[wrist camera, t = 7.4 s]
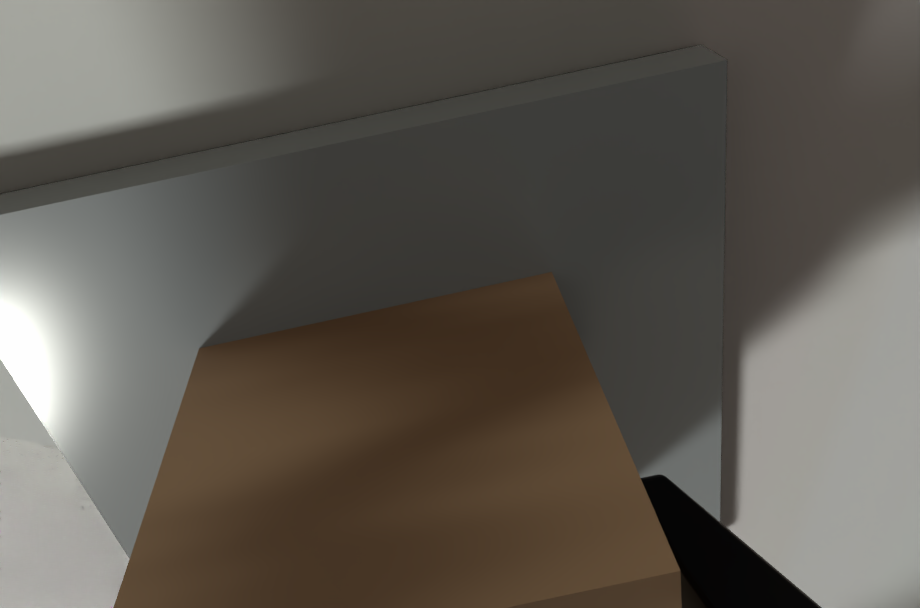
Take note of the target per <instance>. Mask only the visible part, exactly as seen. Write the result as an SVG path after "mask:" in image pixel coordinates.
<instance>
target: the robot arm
mask: <svg viewBox="0 0 920 608" xmlns="http://www.w3.org/2000/svg"><path fill="white" fill-rule="evenodd" d="M641 480H642V483H643V485H644V487H645V490H646V492H647V494H648V497H649V499H650V501H651V504H652V506H653V508H654V511H655V513H656V515H657V518H658V520H659V522H660V524H661V527H662V529H663V531H664V534H665V536H666V538H667V541H668V543H669V545H670V548H671V550H672V552H673V555H674V557H675V559H676V562H677V564H678V566H679V569H680V572H681V600H682V608H821V607H820V606H819V605H818V604H817V603H815V602H814V601H813V600H812V599H811V598H810V597H808V596H807V595H806V594H805V593H804V592H802V591H801V590H800V589H799V588H798V587H796V586H795V585H794V584H793V583H792V582H791V581H789V580H788V579H787V578H786V577H785V576H783V575H782V574H781V573H780V572H779V571H777V570H776V569H775V568H774V567H773V566H772V565H770V564H769V563H768V562H767V561H766V560H764V559H763V558H762V557H761V556H760V555H758V554H757V553H756V552H755V551H754V550H753V549H751V548H750V547H749V546H748V545H747V544H745V543H744V542H743V541H742V540H741V539H739V538H738V537H737V536H736V535H735V534H734V533H732V532H731V531H730V530H729V529H728V528H726V527H725V526H724V525H723V524H722V523H721V522H719V521H718V520H717V519H716V518H715V517H713V516H712V515H711V514H710V513H709V512H707V511H706V510H705V509H704V508H703V507H702V506H700V505H699V504H698V503H697V502H696V501H694V500H693V499H692V498H691V497H690V496H688V495H687V494H686V493H685V492H684V491H683V490H681V489H680V488H679V487H678V486H677V485H675V484H674V483H673V482H672V481H671V480H669V479H668V478H667V477H666V476H664V475H660V474H659V475H653V476H648V477H643V478H641Z"/></svg>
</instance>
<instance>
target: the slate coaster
mask: <svg viewBox="0 0 920 608" xmlns="http://www.w3.org/2000/svg"><path fill="white" fill-rule="evenodd" d="M726 106H727V60H726V59H725V58H723V57H721V56H720V55H718V54H716V53H715V52H713V51H711V50H710V49H708V48H706V47H705V46H703V45H698V46H694V47H689V48H684V49H679V50H675V51H670V52H665V53H661V54H656V55H651V56H647V57H642V58H637V59H633V60H628V61H623V62H618V63H614V64H609V65H604V66H600V67H595V68H590V69H586V70H581V71H576V72H572V73H567V74H562V75H557V76H553V77H548V78H543V79H539V80H534V81H529V82H525V83H520V84H515V85H510V86H506V87H501V88H496V89H492V90H487V91H482V92H478V93H473V94H468V95H464V96H459V97H454V98H449V99H445V100H440V101H435V102H431V103H426V104H421V105H417V106H412V107H407V108H403V109H398V110H393V111H388V112H384V113H379V114H374V115H370V116H365V117H360V118H356V119H351V120H346V121H342V122H337V123H332V124H327V125H323V126H318V127H313V128H309V129H304V130H299V131H295V132H290V133H285V134H280V135H276V136H271V137H266V138H262V139H257V140H252V141H248V142H243V143H238V144H234V145H229V146H224V147H219V148H215V149H210V150H205V151H201V152H196V153H191V154H187V155H182V156H177V157H173V158H168V159H163V160H158V161H154V162H149V163H144V164H140V165H135V166H130V167H126V168H121V169H116V170H112V171H107V172H102V173H97V174H93V175H88V176H83V177H79V178H74V179H69V180H65V181H60V182H55V183H50V184H46V185H41V186H36V187H32V188H27V189H22V190H18V191H13V192H8V193H4V194H0V358H1V360H2V361H3V363H4V365H5V366H6V368H7V369H8V371H9V372H10V374H11V375H12V377H13V379H14V380H15V382H16V383H17V385H18V386H19V388H20V389H21V391H22V392H23V394H24V396H25V397H26V399H27V400H28V402H29V403H30V405H31V406H32V408H33V410H34V411H35V413H36V414H37V416H38V417H39V419H40V420H41V422H42V424H43V425H44V427H45V428H46V430H47V431H48V433H49V434H50V436H51V438H52V439H53V441H54V442H55V444H56V445H57V447H58V448H59V450H60V452H61V453H62V455H63V456H64V458H65V459H66V461H67V462H68V464H69V465H70V467H71V469H72V470H73V472H74V473H75V475H76V476H77V478H78V479H79V481H80V483H81V484H82V486H83V487H84V489H85V490H86V492H87V493H88V495H89V497H90V498H91V500H92V501H93V503H94V504H95V506H96V507H97V509H98V511H99V512H100V514H101V515H102V517H103V518H104V520H105V521H106V523H107V525H108V526H109V528H110V529H111V531H112V532H113V534H114V535H115V537H116V539H117V540H118V542H119V543H120V545H121V546H122V548H123V549H124V551H125V552H126V554H127V556H128V557H129V559H130V557H131V554H132V551H133V548H134V544H135V541H136V538H137V535H138V532H139V529H140V526H141V523H142V520H143V517H144V514H145V511H146V508H147V505H148V502H149V499H150V496H151V493H152V490H153V487H154V484H155V481H156V478H157V475H158V472H159V469H160V466H161V463H162V459H163V456H164V453H165V450H166V447H167V444H168V441H169V438H170V435H171V432H172V429H173V426H174V423H175V420H176V417H177V414H178V411H179V408H180V405H181V402H182V399H183V396H184V393H185V390H186V387H187V384H188V381H189V377H190V374H191V371H192V368H193V365H194V362H195V359H196V356H197V353H198V350H199V348H203V347H208V346H212V345H217V344H222V343H226V342H231V341H236V340H240V339H245V338H249V337H254V336H259V335H263V334H268V333H272V332H277V331H282V330H286V329H291V328H295V327H300V326H305V325H309V324H314V323H319V322H323V321H328V320H332V319H337V318H342V317H346V316H351V315H355V314H360V313H365V312H369V311H374V310H379V309H383V308H388V307H392V306H397V305H402V304H406V303H411V302H415V301H420V300H425V299H429V298H434V297H439V296H443V295H448V294H452V293H457V292H462V291H466V290H471V289H475V288H480V287H485V286H489V285H494V284H499V283H503V282H508V281H512V280H517V279H522V278H526V277H531V276H535V275H540V274H545V273H549V272H552V274H553V276H554V278H555V281H556V283H557V285H558V288H559V290H560V292H561V295H562V297H563V299H564V302H565V304H566V306H567V309H568V311H569V313H570V316H571V318H572V320H573V322H574V325H575V327H576V329H577V332H578V334H579V336H580V339H581V341H582V343H583V346H584V348H585V350H586V353H587V355H588V357H589V360H590V362H591V364H592V367H593V369H594V371H595V374H596V376H597V378H598V381H599V383H600V385H601V387H602V390H603V392H604V394H605V397H606V399H607V401H608V404H609V406H610V408H611V411H612V413H613V415H614V418H615V420H616V422H617V425H618V427H619V429H620V432H621V434H622V436H623V439H624V441H625V443H626V446H627V448H628V450H629V453H630V455H631V457H632V459H633V462H634V464H635V466H636V469H637V471H638V473H639V476H640V478H643V477H648V476H653V475H659V474H660V475H664V476H666V477H667V478H668V479H669V480H671V481H672V482H673V483H674V484H675V485H677V486H678V487H679V488H680V489H681V490H683V491H684V492H685V493H686V494H687V495H688V496H690V497H691V498H692V499H693V500H694V501H696V502H697V503H698V504H699V505H700V506H702V507H703V508H704V509H705V510H706V511H707V512H709V513H710V514H711V515H712V516H713V517H715V518H716V519H717V520H718V521H719V522H720V493H721V429H722V364H723V300H724V235H725V171H726Z"/></svg>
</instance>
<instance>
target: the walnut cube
mask: <svg viewBox="0 0 920 608" xmlns="http://www.w3.org/2000/svg"><path fill="white" fill-rule="evenodd" d="M114 608H682V600H681V572H680V569H679V566H678V564H677V562H676V559H675V557H674V555H673V552H672V550H671V548H670V545H669V543H668V541H667V538H666V536H665V534H664V531H663V529H662V527H661V524H660V522H659V520H658V518H657V515H656V513H655V511H654V508H653V506H652V504H651V501H650V499H649V497H648V494H647V492H646V490H645V487H644V485H643V483H642V480H641V478H640V476H639V473H638V471H637V469H636V466H635V464H634V462H633V459H632V457H631V455H630V453H629V450H628V448H627V446H626V443H625V441H624V439H623V436H622V434H621V432H620V429H619V427H618V425H617V422H616V420H615V418H614V415H613V413H612V411H611V408H610V406H609V404H608V401H607V399H606V397H605V394H604V392H603V390H602V387H601V385H600V383H599V381H598V378H597V376H596V374H595V371H594V369H593V367H592V364H591V362H590V360H589V357H588V355H587V353H586V350H585V348H584V346H583V343H582V341H581V339H580V336H579V334H578V332H577V329H576V327H575V325H574V322H573V320H572V318H571V316H570V313H569V311H568V309H567V306H566V304H565V302H564V299H563V297H562V295H561V292H560V290H559V288H558V285H557V283H556V281H555V278H554V276H553V274H552V272H549V273H545V274H540V275H535V276H531V277H526V278H522V279H517V280H512V281H508V282H503V283H499V284H494V285H489V286H485V287H480V288H475V289H471V290H466V291H462V292H457V293H452V294H448V295H443V296H439V297H434V298H429V299H425V300H420V301H415V302H411V303H406V304H402V305H397V306H392V307H388V308H383V309H379V310H374V311H369V312H365V313H360V314H355V315H351V316H346V317H342V318H337V319H332V320H328V321H323V322H319V323H314V324H309V325H305V326H300V327H295V328H291V329H286V330H282V331H277V332H272V333H268V334H263V335H259V336H254V337H249V338H245V339H240V340H236V341H231V342H226V343H222V344H217V345H212V346H208V347H203V348H199V350H198V353H197V356H196V359H195V362H194V365H193V368H192V371H191V374H190V377H189V381H188V384H187V387H186V390H185V393H184V396H183V399H182V402H181V405H180V408H179V411H178V414H177V417H176V420H175V423H174V426H173V429H172V432H171V435H170V438H169V441H168V444H167V447H166V450H165V453H164V456H163V459H162V463H161V466H160V469H159V472H158V475H157V478H156V481H155V484H154V487H153V490H152V493H151V496H150V499H149V502H148V505H147V508H146V511H145V514H144V517H143V520H142V523H141V526H140V529H139V532H138V535H137V538H136V541H135V544H134V548H133V551H132V554H131V557H130V560H129V563H128V566H127V569H126V572H125V575H124V578H123V581H122V584H121V587H120V590H119V593H118V596H117V599H116V602H115V605H114Z"/></svg>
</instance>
